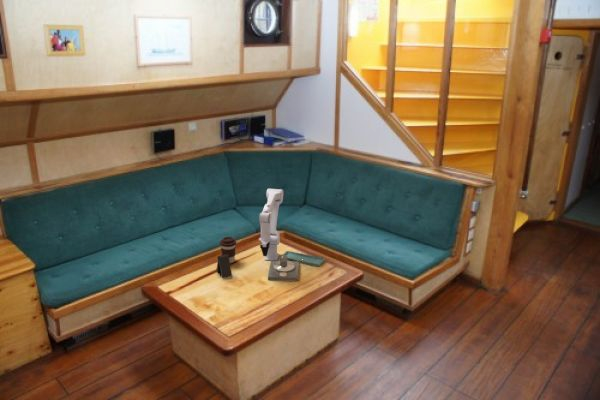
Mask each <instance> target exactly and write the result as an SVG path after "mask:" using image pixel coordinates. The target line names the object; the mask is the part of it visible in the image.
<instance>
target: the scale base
mask: <svg viewBox="0 0 600 400" xmlns="http://www.w3.org/2000/svg"><path fill="white" fill-rule="evenodd" d="M277 261H278V260H270V265H269V270H268V275H267V280H268V281H287V280H288V281H290V282H292V281H293V282H298V279H299V266H300V263H299V262H298V261H291V262H293V263H294V264H295V268H294V269H293V270H292V271H288V272H280V271H277V270H275V269H274V268H273V264H274V263H275V262H277Z"/></svg>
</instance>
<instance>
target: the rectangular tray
mask: <svg viewBox="0 0 600 400" xmlns="http://www.w3.org/2000/svg"><path fill="white" fill-rule="evenodd" d="M282 255H287V261H298V262H300V263H299V264H304V263H305V265H308V264H309V265H308V266H313V265H314V267H318V266H319V267H320V266H321V265H322V264H323V262H324V261H325V258H324V257H319V256H314V255H310V254H304V253H299V252H295V251H290V250H286V251H285V252H284V253H283V254H282ZM302 259H303V260H302Z"/></svg>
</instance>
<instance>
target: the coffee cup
mask: <svg viewBox="0 0 600 400" xmlns="http://www.w3.org/2000/svg"><path fill="white" fill-rule="evenodd" d="M236 244H237V240H236V239H235V238H234V237H232V236H225V237H223V238H221V240H220V241H219V245H220V250H221V255H225V254H227V255H229V261H230V264H232V263H234V262H235V260H236Z"/></svg>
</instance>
